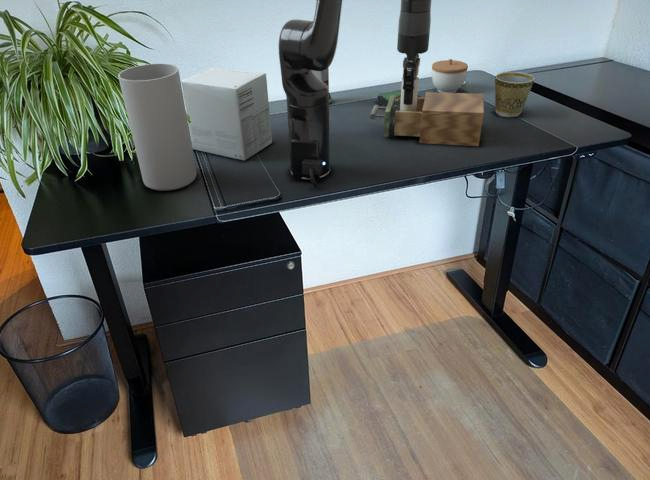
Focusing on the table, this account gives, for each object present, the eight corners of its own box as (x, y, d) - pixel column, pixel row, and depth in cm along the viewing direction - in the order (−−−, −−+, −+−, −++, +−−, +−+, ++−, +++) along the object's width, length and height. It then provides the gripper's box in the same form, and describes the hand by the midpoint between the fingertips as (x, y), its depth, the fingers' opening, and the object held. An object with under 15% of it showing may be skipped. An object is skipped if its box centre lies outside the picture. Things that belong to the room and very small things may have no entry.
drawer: (367, 136, 143) (368, 110, 139) (374, 118, 153) (375, 94, 149) (436, 139, 138) (439, 113, 134) (439, 121, 148) (442, 96, 144)
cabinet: (419, 143, 140) (422, 110, 134) (423, 123, 150) (426, 91, 145) (478, 146, 136) (483, 112, 131) (478, 125, 147) (483, 93, 142)
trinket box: (427, 94, 169) (430, 63, 163) (431, 84, 177) (434, 54, 172) (463, 96, 166) (467, 64, 161) (465, 85, 174) (469, 55, 169)
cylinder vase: (199, 167, 134) (182, 62, 119) (193, 190, 124) (173, 79, 109) (149, 170, 134) (125, 65, 119) (138, 193, 124) (111, 82, 109)
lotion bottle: (414, 127, 142) (418, 73, 134) (398, 126, 143) (401, 73, 135) (415, 121, 146) (420, 68, 138) (399, 121, 147) (403, 68, 139)
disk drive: (431, 112, 157) (406, 97, 168) (432, 103, 155) (407, 87, 167) (399, 118, 154) (376, 102, 166) (399, 108, 153) (376, 92, 164)
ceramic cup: (519, 122, 148) (527, 84, 142) (484, 115, 153) (489, 79, 147) (535, 107, 156) (543, 71, 150) (501, 101, 161) (507, 67, 155)
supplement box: (273, 142, 144) (268, 72, 134) (245, 162, 135) (236, 88, 125) (221, 132, 152) (212, 65, 141) (191, 150, 143) (179, 80, 132)
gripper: (401, 23, 137) (397, 91, 147) (394, 37, 126) (390, 110, 136) (431, 24, 136) (425, 92, 146) (427, 37, 124) (421, 111, 135)
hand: (408, 100), depth 141 cm, fingers closed on lotion bottle, 4 cm apart
